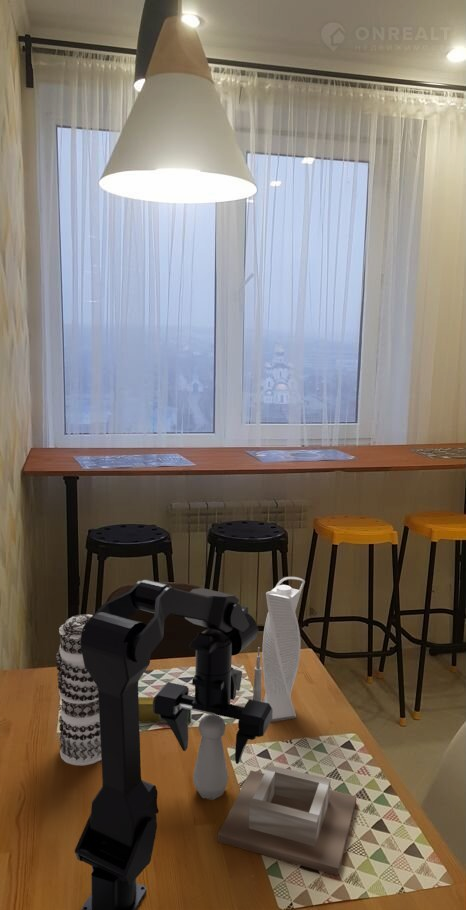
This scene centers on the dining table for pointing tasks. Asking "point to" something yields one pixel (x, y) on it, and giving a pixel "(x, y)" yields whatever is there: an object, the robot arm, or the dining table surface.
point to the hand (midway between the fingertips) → (211, 755)
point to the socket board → (291, 819)
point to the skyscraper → (279, 651)
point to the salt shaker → (211, 759)
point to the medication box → (147, 711)
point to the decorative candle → (77, 698)
